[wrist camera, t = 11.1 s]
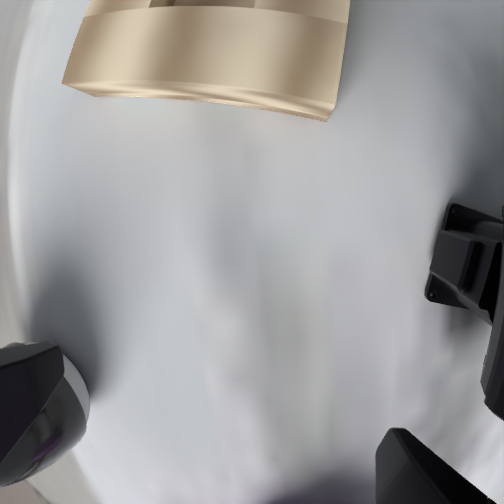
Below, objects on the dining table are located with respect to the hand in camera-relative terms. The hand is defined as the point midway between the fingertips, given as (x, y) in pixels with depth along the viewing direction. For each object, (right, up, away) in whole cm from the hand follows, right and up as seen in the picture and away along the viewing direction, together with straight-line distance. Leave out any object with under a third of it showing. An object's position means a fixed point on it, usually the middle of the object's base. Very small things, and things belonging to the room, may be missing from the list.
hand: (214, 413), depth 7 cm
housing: (-1, +21, +9) cm, 23 cm away
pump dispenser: (-17, -8, +17) cm, 25 cm away
